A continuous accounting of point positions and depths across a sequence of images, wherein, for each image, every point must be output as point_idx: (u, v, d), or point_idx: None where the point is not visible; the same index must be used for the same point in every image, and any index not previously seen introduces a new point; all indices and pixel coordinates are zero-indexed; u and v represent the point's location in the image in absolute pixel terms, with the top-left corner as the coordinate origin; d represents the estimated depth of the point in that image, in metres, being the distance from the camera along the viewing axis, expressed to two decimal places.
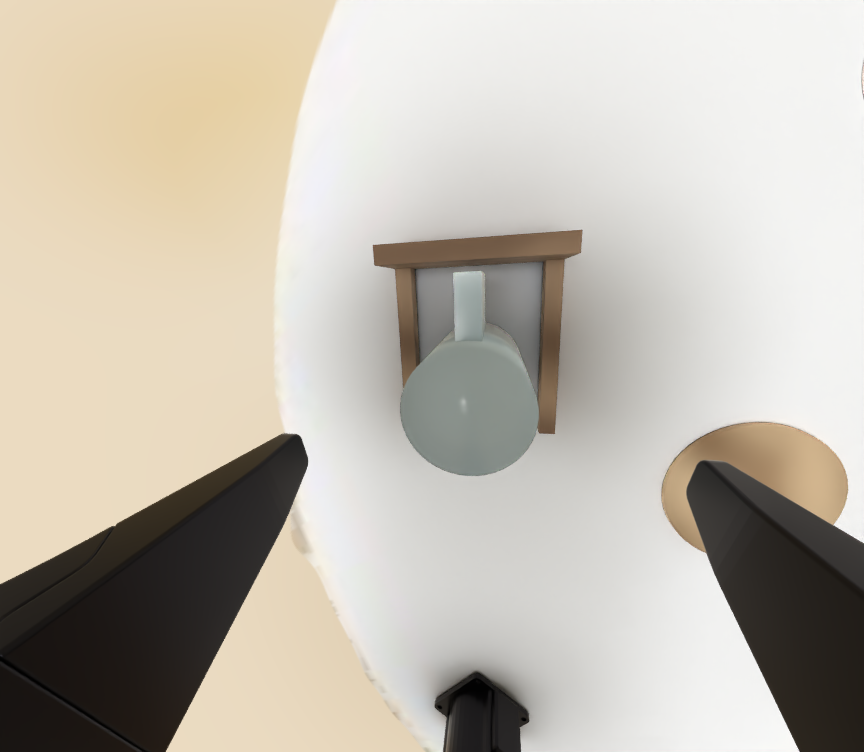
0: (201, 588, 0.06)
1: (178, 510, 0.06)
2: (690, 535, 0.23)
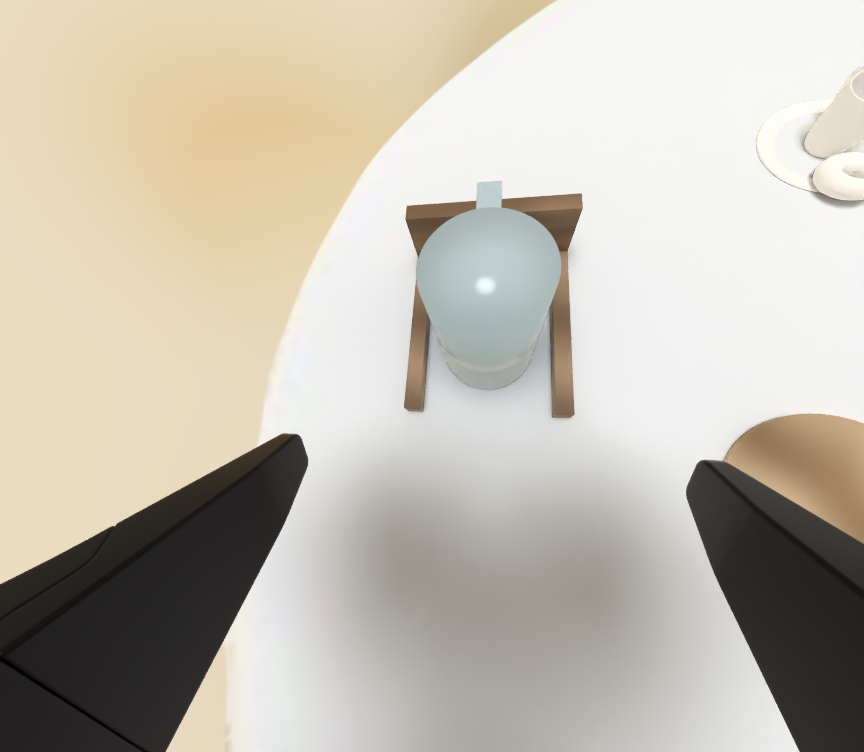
0: (201, 588, 0.06)
1: (178, 510, 0.06)
2: None
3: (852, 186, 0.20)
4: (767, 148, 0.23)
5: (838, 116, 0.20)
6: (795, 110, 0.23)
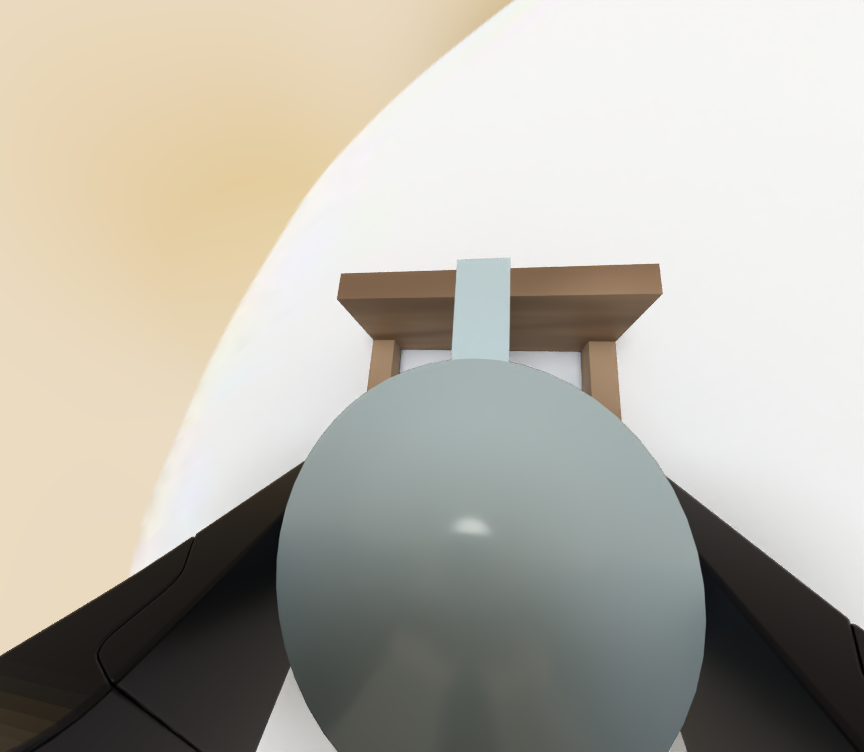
0: None
1: (257, 519, 0.05)
2: None
3: None
4: None
5: None
6: None
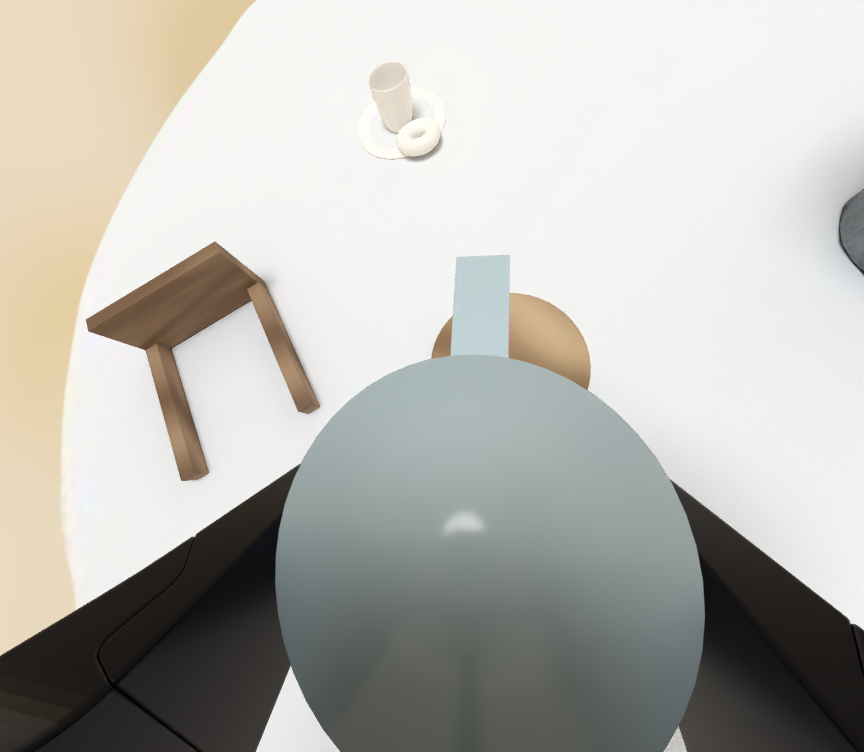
0: None
1: (257, 519, 0.05)
2: None
3: (416, 145, 0.26)
4: (366, 141, 0.29)
5: (380, 104, 0.26)
6: (373, 107, 0.30)
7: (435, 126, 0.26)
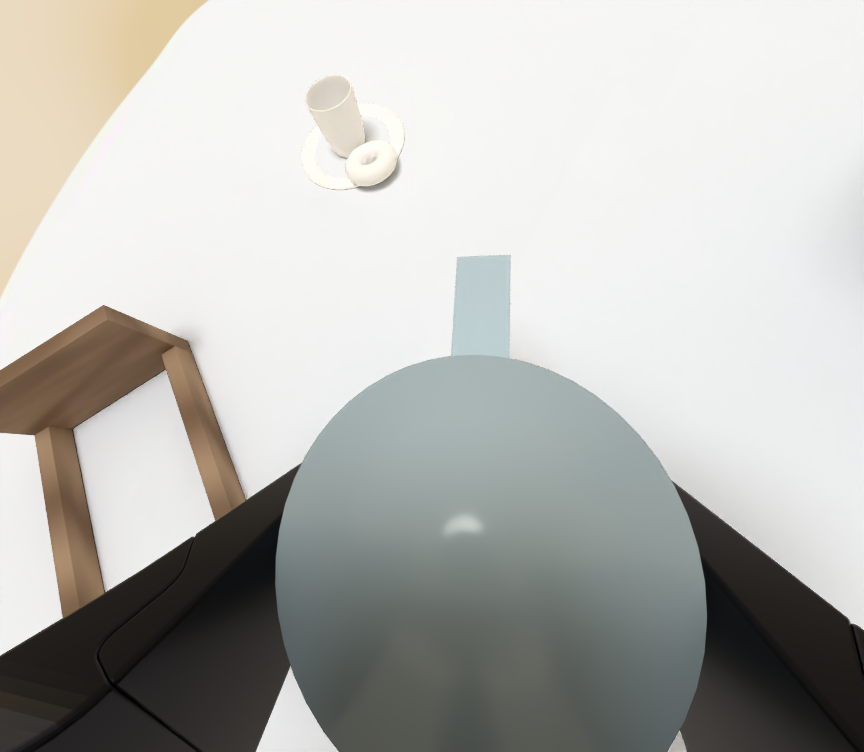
0: None
1: (257, 519, 0.05)
2: None
3: (366, 173, 0.21)
4: (312, 168, 0.24)
5: (321, 126, 0.22)
6: None
7: (389, 150, 0.22)
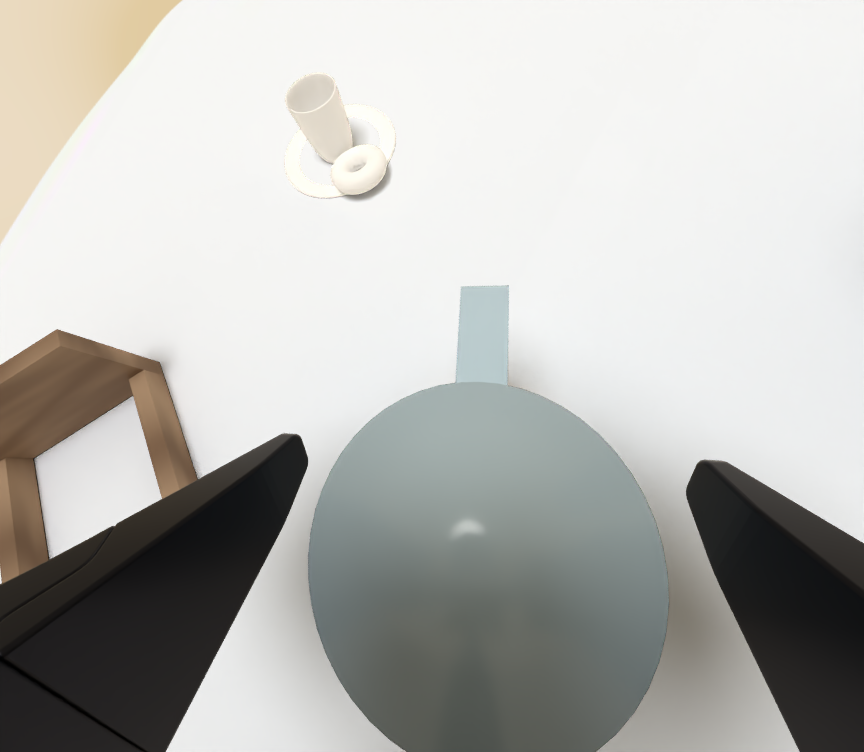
0: (201, 588, 0.06)
1: (178, 510, 0.06)
2: None
3: (353, 181, 0.20)
4: (296, 174, 0.22)
5: (304, 130, 0.20)
6: None
7: (378, 156, 0.20)
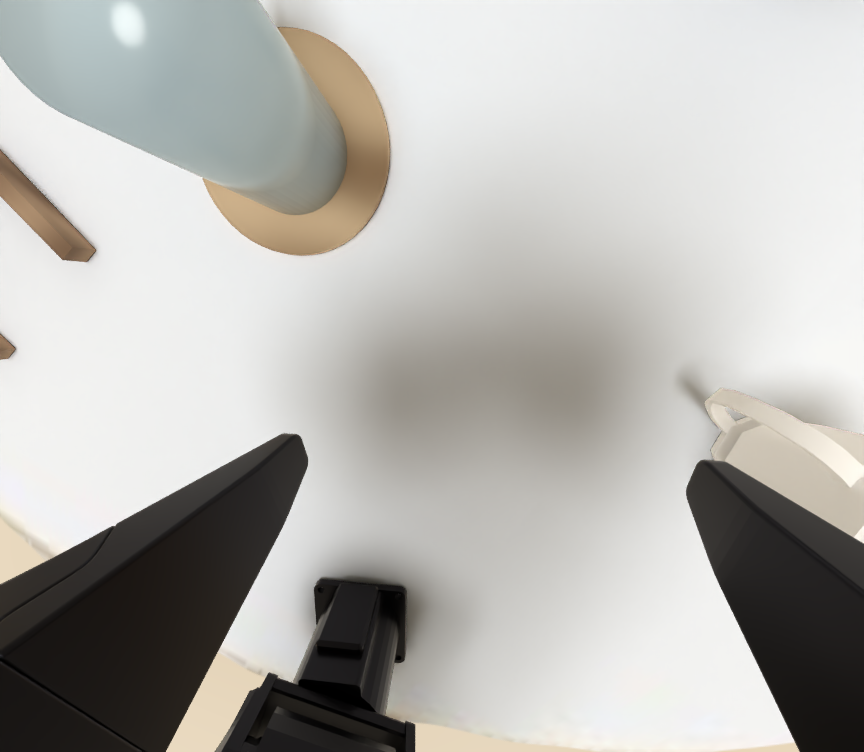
0: (201, 588, 0.06)
1: (178, 510, 0.06)
2: (293, 244, 0.18)
3: None
4: None
5: None
6: None
7: None
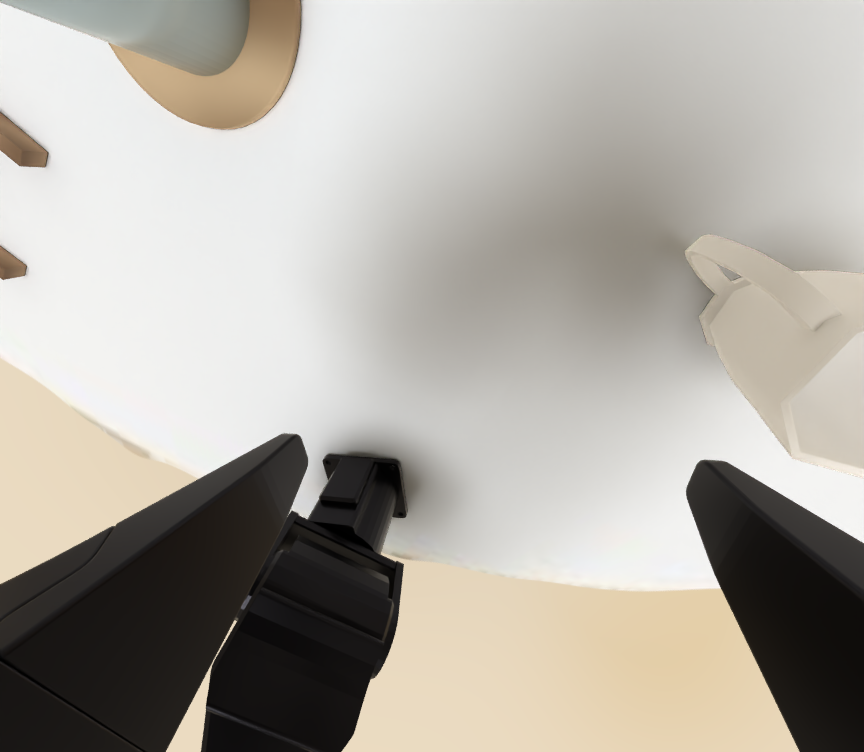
0: (201, 588, 0.06)
1: (178, 510, 0.06)
2: (220, 115, 0.16)
3: None
4: None
5: None
6: None
7: None
